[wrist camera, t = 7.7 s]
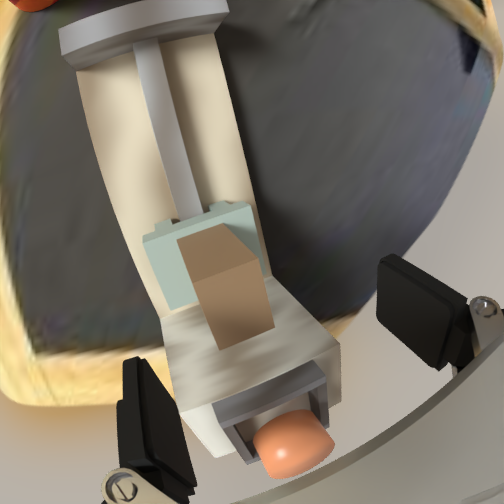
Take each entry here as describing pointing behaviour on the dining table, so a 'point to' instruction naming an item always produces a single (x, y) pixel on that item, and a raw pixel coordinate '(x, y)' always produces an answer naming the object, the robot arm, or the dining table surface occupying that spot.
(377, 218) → the dining table surface
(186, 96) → the track
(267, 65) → the dining table surface
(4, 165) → the dining table surface
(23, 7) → the paper cup
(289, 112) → the dining table surface
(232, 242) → the carriage
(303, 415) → the button
